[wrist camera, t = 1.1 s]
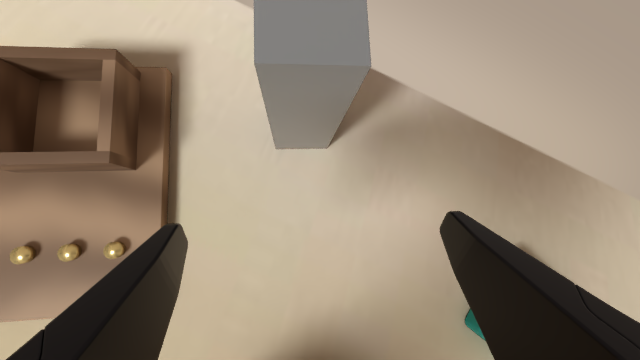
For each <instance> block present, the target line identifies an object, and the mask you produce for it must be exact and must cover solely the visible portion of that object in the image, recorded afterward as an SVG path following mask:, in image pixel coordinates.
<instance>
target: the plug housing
mask: <svg viewBox="0 0 640 360" xmlns="http://www.w3.org/2000/svg"><path fill="white" fill-rule="evenodd" d="M254 64H255V68H256V72H257V76H258V80H259V84H260V88H261V92H262V96H263V100H264V104H265V108H266V112H267V116H268V120H269V124H270V128H271V132H272V136H273V140H274V144H275V148H276V149H321V148H327V147H328V146H329V144H330V142H331V140H332V138H333V136H334V134H335V132H336V131H337V129H338V127H339V125H340V123H341V121H342V119H343V118H344V116H345V114H346V112H347V110H348V108H349V106H350V105H351V103H352V101H353V99H354V97H355V95H356V93H357V91H358V90H359V88H360V86H361V84H362V82H363V80H364V78H365V77H366V75H367V73H368V71H369V69H370V67H371V57H370V42H369V29H368V14H367V0H254Z"/></svg>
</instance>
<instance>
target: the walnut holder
mask: <svg viewBox="0 0 640 360" xmlns="http://www.w3.org/2000/svg"><path fill="white" fill-rule="evenodd" d="M171 84H172V74H171V73H170V71H169V70H168V69H167V68H157V67H135V66H133V65H132V64H131V63H130V62H129V61H128V60H127V59H126V58H125V57H124V56H123V55H122V54H121V53H120V52H118V51H117V50H116V49H89V48H53V47H17V46H0V322H10V321H23V320H35V319H48V318H56V317H57V316H58V315H59V314H61V313H62V312H63V311H64V310H65V309H66V308H68V307H69V306H70V305H71V304H72V303H73V302H75V301H76V300H77V299H78V298H79V297H80V296H82V295H83V294H84V293H85V292H86V291H88V290H89V289H90V288H91V287H92V286H93V285H95V284H96V283H97V282H98V281H99V280H100V279H102V278H103V277H104V276H105V275H106V274H107V273H109V272H110V271H111V270H112V269H113V268H114V267H116V266H117V265H118V264H119V263H120V262H121V261H123V260H124V259H125V258H126V257H127V256H129V255H130V254H131V253H132V252H133V251H134V250H136V249H137V248H138V247H139V246H140V245H141V244H143V243H144V242H145V241H146V240H147V239H148V238H150V237H151V236H152V235H153V234H154V233H155V232H157V231H158V230H159V229H160V228H161V227H162V226H164V225H166V224H167V206H168V176H169V145H170V115H171Z"/></svg>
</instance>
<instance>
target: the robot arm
mask: <svg viewBox="0 0 640 360" xmlns="http://www.w3.org/2000/svg"><path fill="white" fill-rule="evenodd" d="M440 234H441V237H442V240H443V243H444V246H445V249H446V252H447V254H448V257H449V260H450V263H451V266H452V269H453V271H454V274H455V276H456V278H457V280H458V283H459V285H460V287H461V289H462V291H463V293H464V295H465V297H466V300H467V302H468V304H469V306H470V308H471V310H472V312H473V315H474V317H475V319H476V321H477V323H478V325H479V327H480V330H481V332H482V334H483V336H484V338H485V340H486V342H487V344H488V347H489V349H490V351H491V353H492V355H493V357H494V359H495V360H640V323H639V322H637V321H635V320H634V319H632V318H630V317H628V316H627V315H625V314H623V313H622V312H620V311H618V310H616V309H615V308H613V307H611V306H610V305H608V304H607V303H605V302H603V301H602V300H600V299H599V298H597V297H595V296H594V295H592V294H590V293H589V292H587V291H586V290H584V289H583V288H581V287H579V286H578V285H575V284H574V283H573V282H571V281H570V280H568V279H567V278H565V277H564V276H562V275H560V274H559V273H557V272H556V271H554V270H553V269H551V268H549V267H548V266H546V265H545V264H543V263H542V262H540V261H538V260H537V259H535V258H534V257H532V256H530V255H529V254H527V253H526V252H524V251H523V250H521V249H519V248H518V247H516V246H515V245H513V244H512V243H510V242H508V241H507V240H505V239H504V238H502V237H500V236H499V235H497V234H496V233H494V232H493V231H491V230H489V229H488V228H486V227H485V226H483V225H482V224H480V223H478V222H477V221H475V220H474V219H472V218H470V217H469V216H467V215H466V214H464V213H463V212H460V211H450V212H448V213H447V214H446V216H445V218H444V220H443V222H442V224H441V226H440ZM187 248H188V241H187V238H186V235H185V233H184V231H183V228H182V226H181V225H180V224H178V223H176V224H166V225H164V226H162V227H161V228H160V229H159V230H158V231H157V232H155V233H154V234H153V235H152V236H151V237H150V238H148V239H147V240H146V241H145V242H144V243H143V244H141V245H140V246H139V247H138V248H137V249H136V250H134V251H133V252H132V253H131V254H130V255H129V256H127V257H126V258H125V259H124V260H123V261H121V262H120V263H119V264H118V265H117V266H116V267H114V268H113V269H112V270H111V271H110V272H109V273H107V274H106V275H105V276H104V277H103V278H102V279H100V280H99V281H98V282H97V283H96V284H95V285H93V286H92V287H91V288H90V289H89V290H88V291H86V292H85V293H84V294H83V295H82V296H80V297H79V298H78V299H77V300H76V301H75V302H73V303H72V304H71V305H70V306H69V307H68V308H66V309H65V310H64V311H63V312H62V313H61V314H59V315H58V316H57V317H56V318H55V319H54V320H52V321H51V322H50V323H49V324H48V325H47V326H46V327H45V329H43V330H41V331H39V332H38V333H37V334H36V335H35V336H33V337H32V338H31V339H30V340H29V341H28V342H26V343H25V344H24V345H23V346H22V347H20V348H19V349H18V350H17V351H16V352H14V353H13V354H12V355H11V356H10V357H8V358H7V359H6V360H158V357H159V354H160V351H161V348H162V345H163V341H164V338H165V335H166V332H167V329H168V326H169V322H170V319H171V316H172V313H173V310H174V307H175V303H176V300H177V297H178V293H179V289H180V284H181V279H182V274H183V269H184V263H185V258H186V253H187Z"/></svg>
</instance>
